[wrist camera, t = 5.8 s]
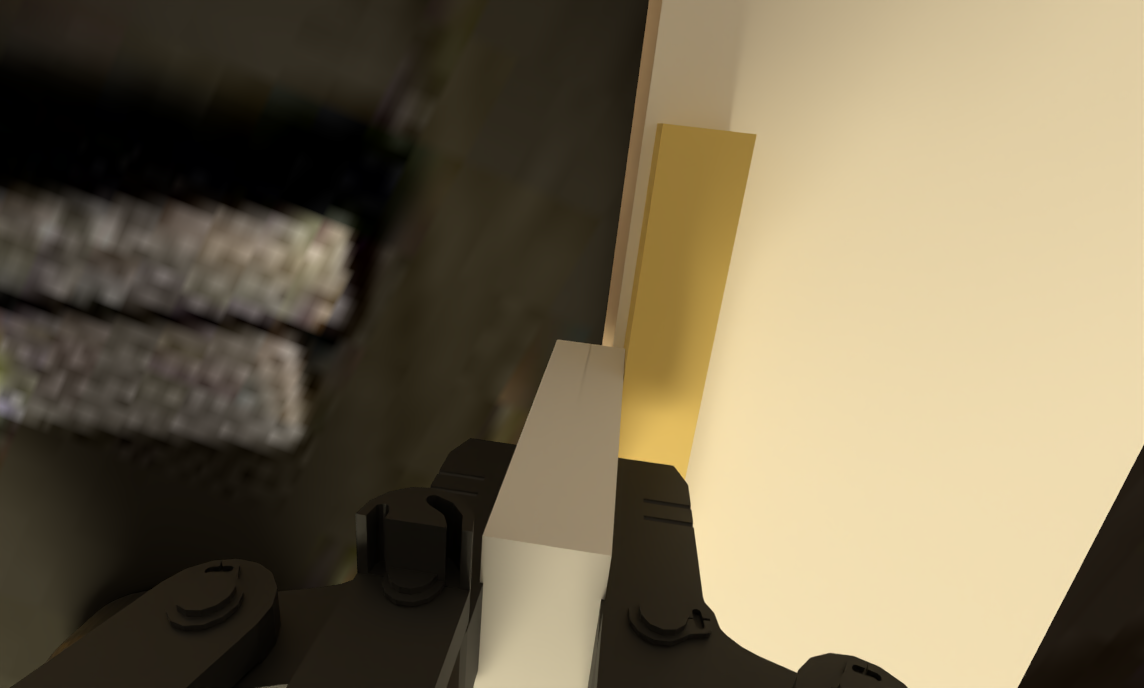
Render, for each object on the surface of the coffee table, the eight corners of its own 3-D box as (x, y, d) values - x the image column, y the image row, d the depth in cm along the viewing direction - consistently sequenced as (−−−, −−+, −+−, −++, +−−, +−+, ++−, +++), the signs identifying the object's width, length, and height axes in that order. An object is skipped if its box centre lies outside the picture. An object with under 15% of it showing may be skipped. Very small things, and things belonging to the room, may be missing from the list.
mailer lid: (570, 643, 18) (554, 760, 15) (669, -49, 12) (682, -117, 8) (983, 712, 18) (1064, 851, 14) (1331, 17, 11) (1630, -29, 8)
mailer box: (580, 512, 24) (563, 629, 19) (648, 14, 18) (654, -35, 12) (880, 559, 24) (956, 695, 18) (1064, 58, 17) (1271, 27, 12)
